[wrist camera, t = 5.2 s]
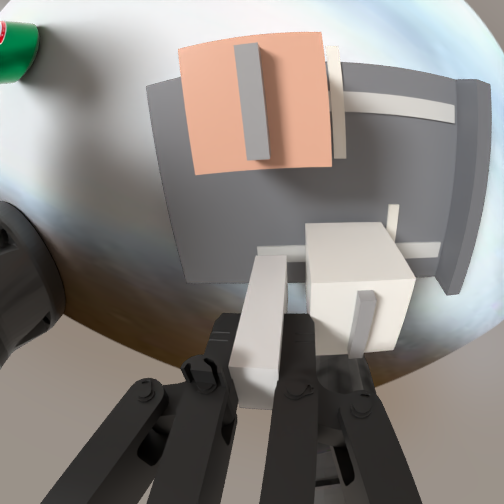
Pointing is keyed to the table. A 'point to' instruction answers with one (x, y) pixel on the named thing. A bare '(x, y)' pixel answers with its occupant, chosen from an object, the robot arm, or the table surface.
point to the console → (340, 177)
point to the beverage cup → (344, 382)
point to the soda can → (17, 49)
